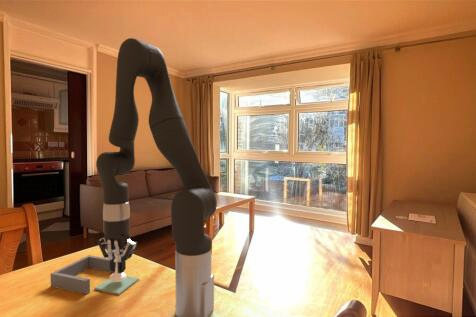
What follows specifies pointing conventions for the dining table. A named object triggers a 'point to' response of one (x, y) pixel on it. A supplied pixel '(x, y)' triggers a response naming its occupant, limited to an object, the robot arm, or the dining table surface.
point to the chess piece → (117, 276)
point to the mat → (117, 285)
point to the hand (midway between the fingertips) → (117, 271)
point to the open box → (67, 277)
